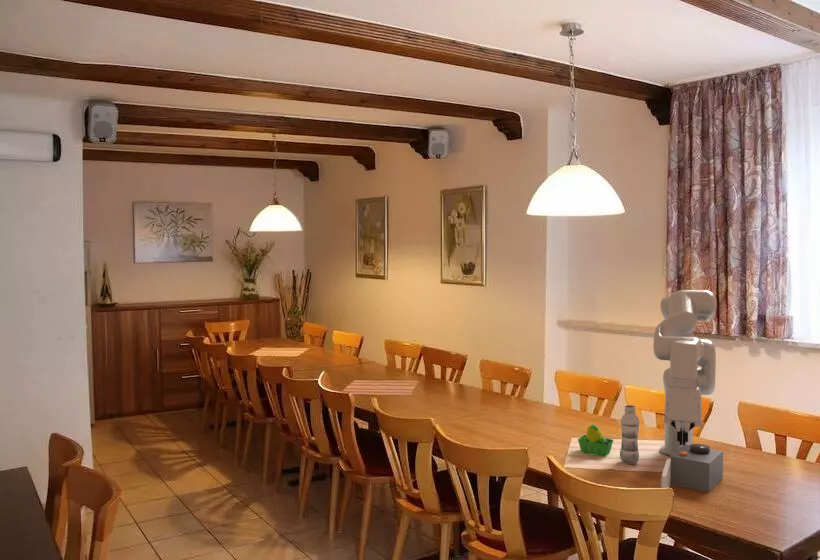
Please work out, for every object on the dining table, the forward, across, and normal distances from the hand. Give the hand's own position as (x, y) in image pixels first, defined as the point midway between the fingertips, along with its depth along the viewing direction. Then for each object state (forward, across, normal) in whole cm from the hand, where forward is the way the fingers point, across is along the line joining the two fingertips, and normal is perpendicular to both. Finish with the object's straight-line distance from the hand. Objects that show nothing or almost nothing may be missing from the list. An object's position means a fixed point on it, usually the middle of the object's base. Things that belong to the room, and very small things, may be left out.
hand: (682, 443), depth 206 cm
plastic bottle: (+18, +18, -32) cm, 41 cm away
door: (+17, +5, -5) cm, 19 cm away
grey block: (+18, -4, -21) cm, 28 cm away
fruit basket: (+19, +31, -39) cm, 53 cm away
